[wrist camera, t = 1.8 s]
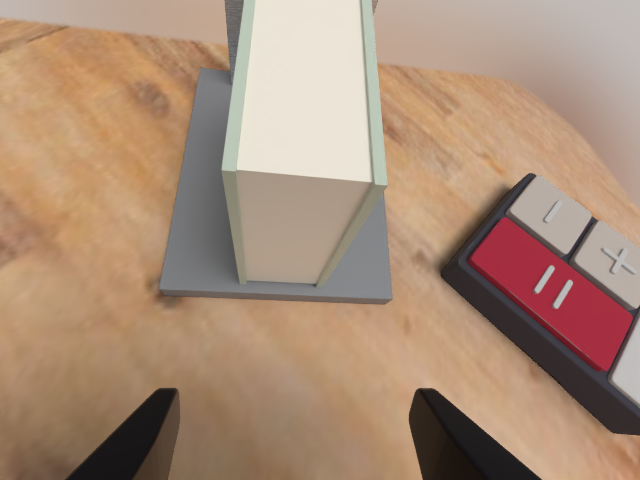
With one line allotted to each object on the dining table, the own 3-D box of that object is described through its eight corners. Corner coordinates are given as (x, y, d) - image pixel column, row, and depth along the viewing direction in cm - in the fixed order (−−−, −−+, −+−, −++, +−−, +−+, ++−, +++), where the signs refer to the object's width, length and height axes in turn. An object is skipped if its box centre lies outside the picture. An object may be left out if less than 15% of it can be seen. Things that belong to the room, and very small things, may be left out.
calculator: (537, 163, 26) (730, 303, 23) (503, 194, 30) (664, 318, 27) (460, 256, 22) (683, 443, 19) (432, 279, 26) (613, 437, 23)
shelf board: (384, 304, 24) (392, 299, 22) (165, 295, 22) (158, 289, 20) (370, 104, 30) (375, 91, 29) (203, 83, 28) (200, 67, 27)
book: (322, 288, 22) (387, 185, 11) (239, 284, 21) (221, 169, 10) (322, 143, 26) (368, -33, 15) (253, 136, 25) (251, -55, 14)
